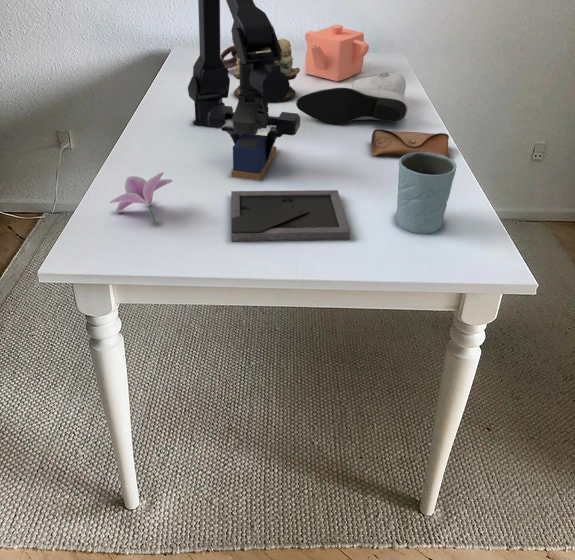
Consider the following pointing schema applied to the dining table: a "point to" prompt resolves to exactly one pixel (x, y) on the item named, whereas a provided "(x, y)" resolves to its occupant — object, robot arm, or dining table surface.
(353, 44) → the teapot
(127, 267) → the dining table surface
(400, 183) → the green embossed cup
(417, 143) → the sunglasses case
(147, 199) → the lily
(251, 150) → the toy high-top shoe
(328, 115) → the cowboy boot
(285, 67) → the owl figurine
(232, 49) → the pottery mug
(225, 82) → the robot arm
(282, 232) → the picture frame
